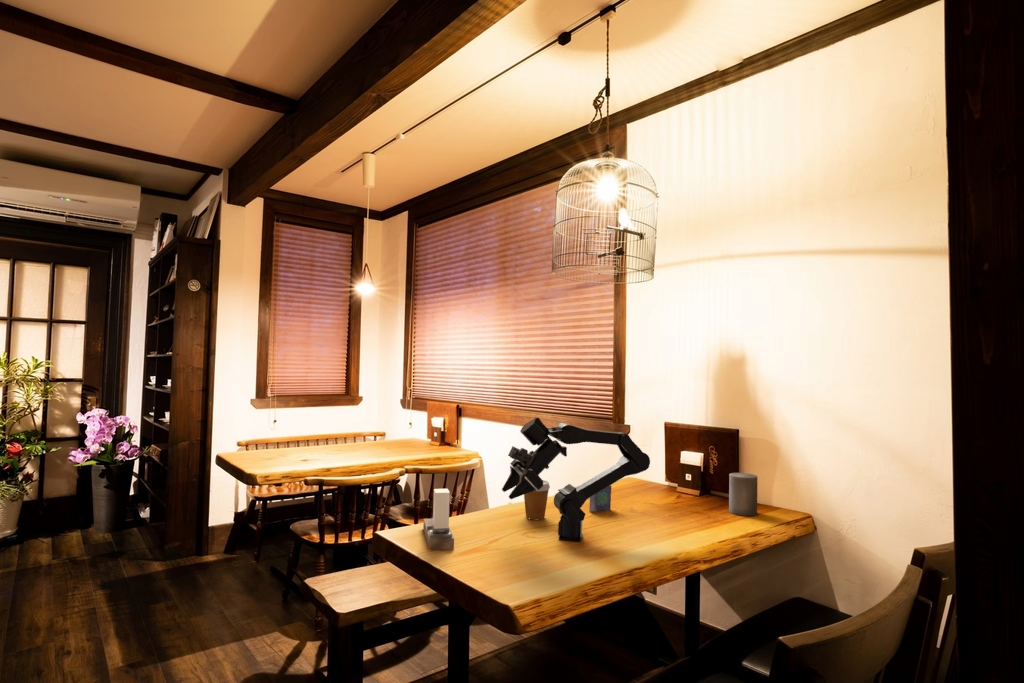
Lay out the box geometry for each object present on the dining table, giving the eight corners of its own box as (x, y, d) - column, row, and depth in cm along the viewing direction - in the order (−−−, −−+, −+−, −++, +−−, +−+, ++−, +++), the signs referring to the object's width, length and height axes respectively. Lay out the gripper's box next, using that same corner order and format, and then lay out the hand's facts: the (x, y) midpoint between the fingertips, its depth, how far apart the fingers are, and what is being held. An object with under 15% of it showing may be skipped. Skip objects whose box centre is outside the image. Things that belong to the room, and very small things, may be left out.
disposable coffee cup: (547, 522, 188) (548, 485, 189) (518, 520, 190) (519, 483, 191) (551, 515, 198) (551, 480, 198) (523, 512, 200) (524, 478, 200)
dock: (445, 527, 179) (445, 514, 180) (453, 549, 159) (454, 534, 159) (423, 528, 178) (423, 515, 178) (429, 550, 158) (429, 535, 158)
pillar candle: (763, 516, 204) (763, 473, 205) (739, 516, 202) (740, 474, 203) (745, 509, 214) (746, 468, 214) (723, 510, 211) (723, 469, 212)
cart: (447, 529, 167) (448, 488, 167) (449, 535, 162) (451, 492, 162) (431, 530, 166) (432, 488, 166) (432, 536, 161) (434, 493, 161)
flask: (592, 513, 202) (592, 482, 202) (586, 511, 204) (587, 481, 205) (612, 510, 206) (613, 480, 207) (607, 508, 209) (607, 478, 209)
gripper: (517, 433, 179) (482, 469, 176) (533, 441, 161) (494, 482, 158) (541, 458, 181) (506, 494, 178) (559, 469, 163) (520, 509, 160)
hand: (506, 494), depth 168 cm, fingers open, 9 cm apart
